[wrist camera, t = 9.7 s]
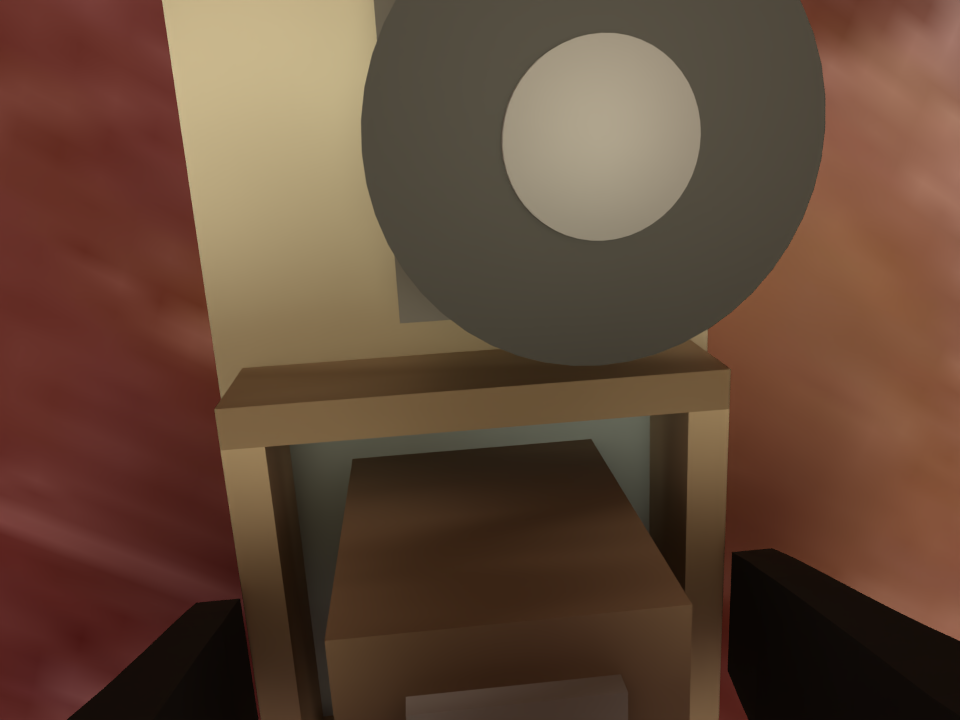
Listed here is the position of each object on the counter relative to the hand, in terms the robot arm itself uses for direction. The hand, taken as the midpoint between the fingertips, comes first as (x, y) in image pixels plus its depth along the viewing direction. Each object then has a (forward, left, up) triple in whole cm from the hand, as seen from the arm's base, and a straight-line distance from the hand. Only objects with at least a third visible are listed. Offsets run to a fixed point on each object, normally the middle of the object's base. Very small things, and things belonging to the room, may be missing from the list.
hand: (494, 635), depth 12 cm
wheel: (+7, -1, -2) cm, 7 cm away
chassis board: (+3, 0, -4) cm, 5 cm away
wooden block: (0, 0, -2) cm, 2 cm away
